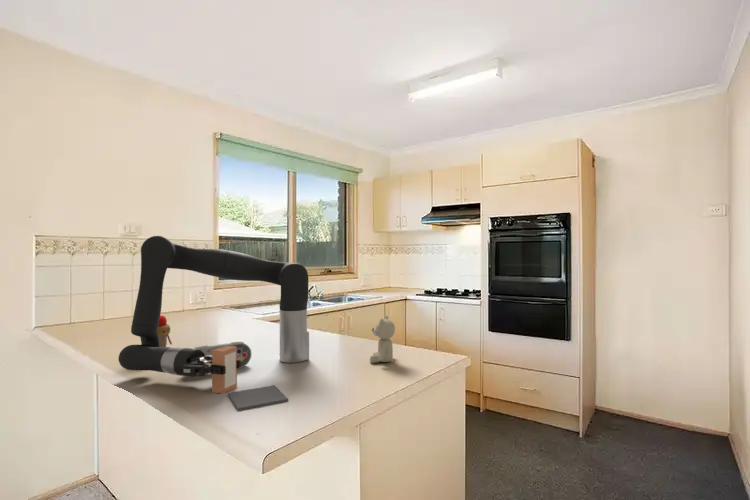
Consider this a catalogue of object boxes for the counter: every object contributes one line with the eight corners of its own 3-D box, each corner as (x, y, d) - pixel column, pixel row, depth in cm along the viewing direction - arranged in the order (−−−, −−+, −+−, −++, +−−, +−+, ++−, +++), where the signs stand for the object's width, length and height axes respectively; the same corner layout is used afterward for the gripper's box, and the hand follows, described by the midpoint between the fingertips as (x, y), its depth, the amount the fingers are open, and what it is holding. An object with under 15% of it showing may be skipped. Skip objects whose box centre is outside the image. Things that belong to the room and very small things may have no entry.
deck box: (212, 392, 107) (212, 350, 107) (226, 385, 112) (226, 345, 112) (223, 393, 106) (223, 351, 106) (237, 387, 111) (237, 346, 111)
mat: (274, 387, 111) (274, 385, 111) (288, 401, 100) (288, 398, 100) (228, 395, 105) (228, 392, 105) (237, 410, 94) (237, 408, 94)
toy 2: (376, 356, 144) (376, 313, 144) (398, 357, 142) (398, 314, 142) (365, 366, 131) (365, 319, 131) (389, 368, 129) (389, 320, 129)
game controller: (186, 376, 121) (186, 348, 121) (185, 374, 123) (185, 347, 123) (251, 366, 132) (251, 340, 132) (249, 364, 134) (249, 339, 134)
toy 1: (151, 363, 135) (151, 318, 135) (138, 359, 140) (138, 316, 140) (177, 358, 142) (177, 315, 142) (164, 354, 147) (164, 313, 147)
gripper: (161, 354, 107) (213, 359, 101) (202, 342, 121) (249, 347, 115) (161, 382, 107) (213, 389, 101) (202, 368, 121) (249, 373, 115)
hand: (232, 367), depth 108 cm, fingers closed on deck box, 5 cm apart
